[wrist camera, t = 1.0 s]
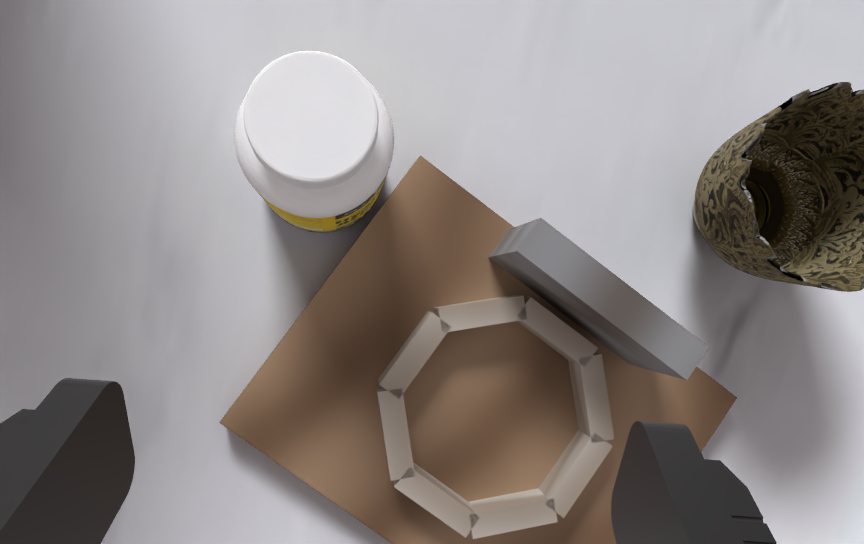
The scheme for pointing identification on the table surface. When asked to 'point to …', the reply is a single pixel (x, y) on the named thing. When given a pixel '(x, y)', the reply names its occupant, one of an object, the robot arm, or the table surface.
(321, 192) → the supplement bottle
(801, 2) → the table surface
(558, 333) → the socket board
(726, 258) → the cup
